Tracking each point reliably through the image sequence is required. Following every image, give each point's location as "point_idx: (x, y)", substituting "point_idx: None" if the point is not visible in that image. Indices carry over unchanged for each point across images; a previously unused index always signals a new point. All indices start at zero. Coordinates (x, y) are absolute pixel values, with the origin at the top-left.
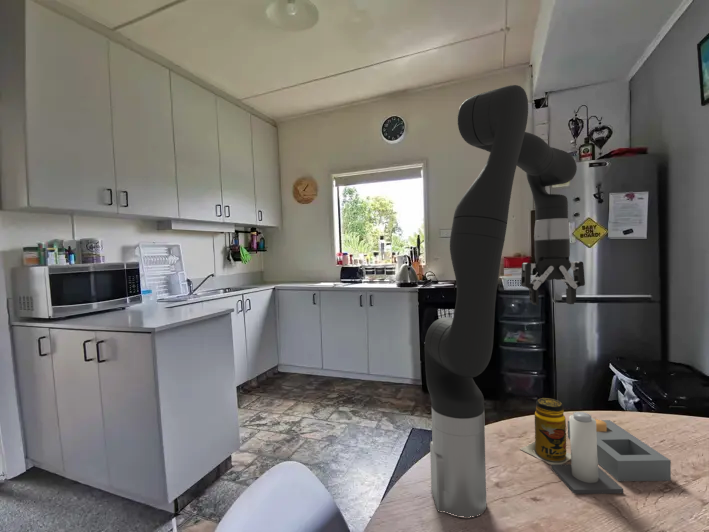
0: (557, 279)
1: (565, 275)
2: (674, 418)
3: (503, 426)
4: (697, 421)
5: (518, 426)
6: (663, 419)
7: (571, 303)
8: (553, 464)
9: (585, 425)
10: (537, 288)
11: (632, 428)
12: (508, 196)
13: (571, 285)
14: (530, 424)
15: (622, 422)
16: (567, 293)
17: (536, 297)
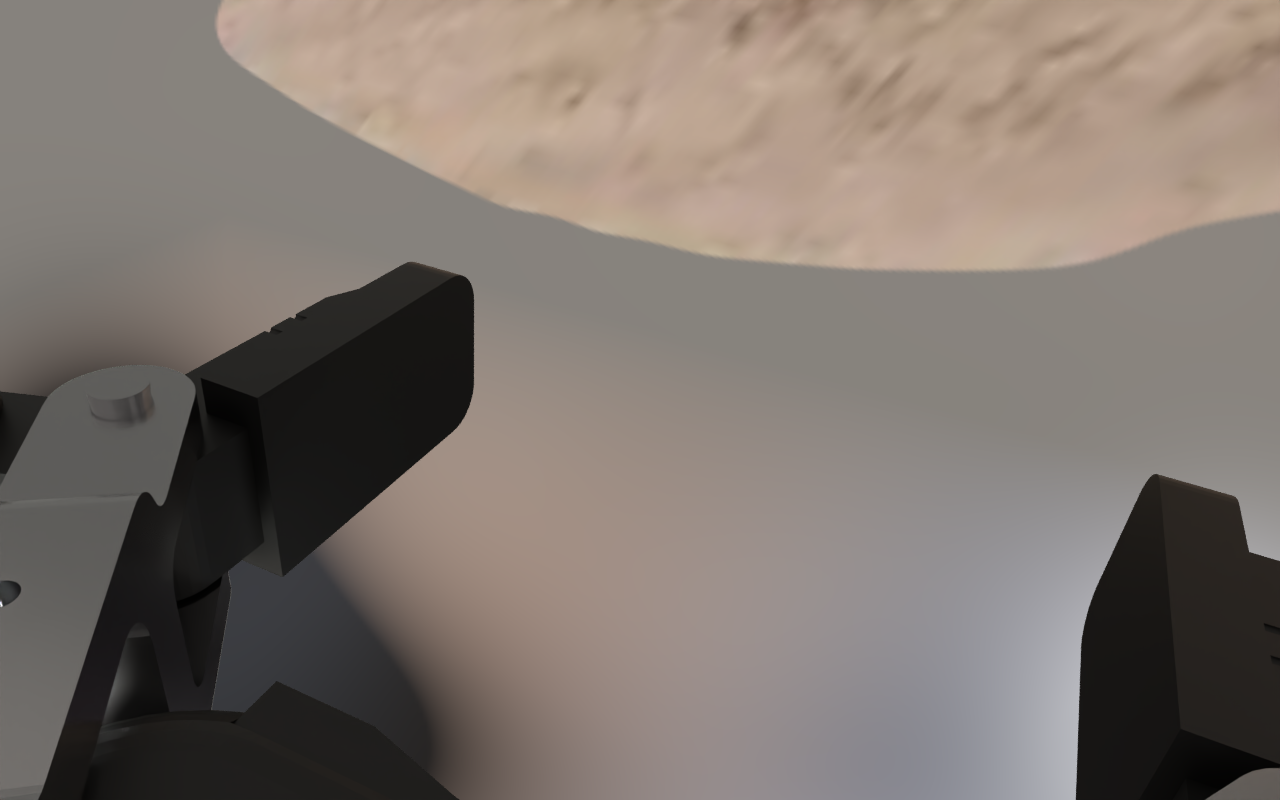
0: (377, 741)
1: (28, 675)
2: (300, 61)
3: (1274, 199)
4: (234, 11)
5: (1167, 175)
6: (349, 63)
7: (459, 277)
8: None
9: None
10: (1245, 782)
11: (544, 6)
12: None
13: (173, 438)
14: (1064, 179)
15: (544, 78)
16: (350, 476)
17: (1234, 593)
